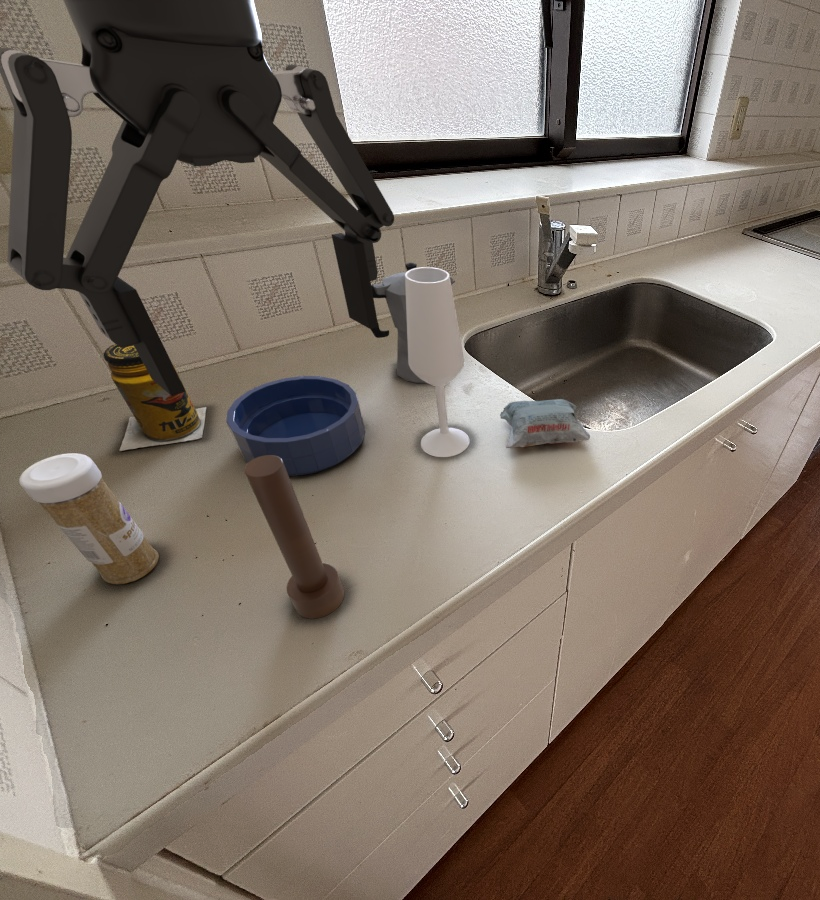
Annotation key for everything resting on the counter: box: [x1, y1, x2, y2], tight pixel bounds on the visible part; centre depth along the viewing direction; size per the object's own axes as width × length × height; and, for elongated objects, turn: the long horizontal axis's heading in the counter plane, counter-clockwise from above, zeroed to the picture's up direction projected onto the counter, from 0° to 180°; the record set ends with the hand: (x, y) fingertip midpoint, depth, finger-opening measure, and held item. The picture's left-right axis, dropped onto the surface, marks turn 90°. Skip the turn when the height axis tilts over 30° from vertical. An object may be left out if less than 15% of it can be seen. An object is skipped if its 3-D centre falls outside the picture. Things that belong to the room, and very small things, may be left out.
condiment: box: [103, 343, 207, 452], centre depth 62 cm, size 7×8×12 cm
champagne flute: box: [405, 266, 470, 458], centre depth 63 cm, size 7×7×24 cm
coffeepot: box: [370, 262, 456, 384], centre depth 78 cm, size 15×9×18 cm, turn 129°
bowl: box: [225, 375, 366, 477], centre depth 65 cm, size 15×15×6 cm
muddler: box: [243, 455, 345, 619], centre depth 44 cm, size 4×4×18 cm
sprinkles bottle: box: [18, 452, 160, 585], centre depth 46 cm, size 5×5×13 cm
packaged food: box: [499, 398, 591, 449], centre depth 72 cm, size 9×12×5 cm
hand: (279, 350), depth 36 cm, fingers open, 13 cm apart
